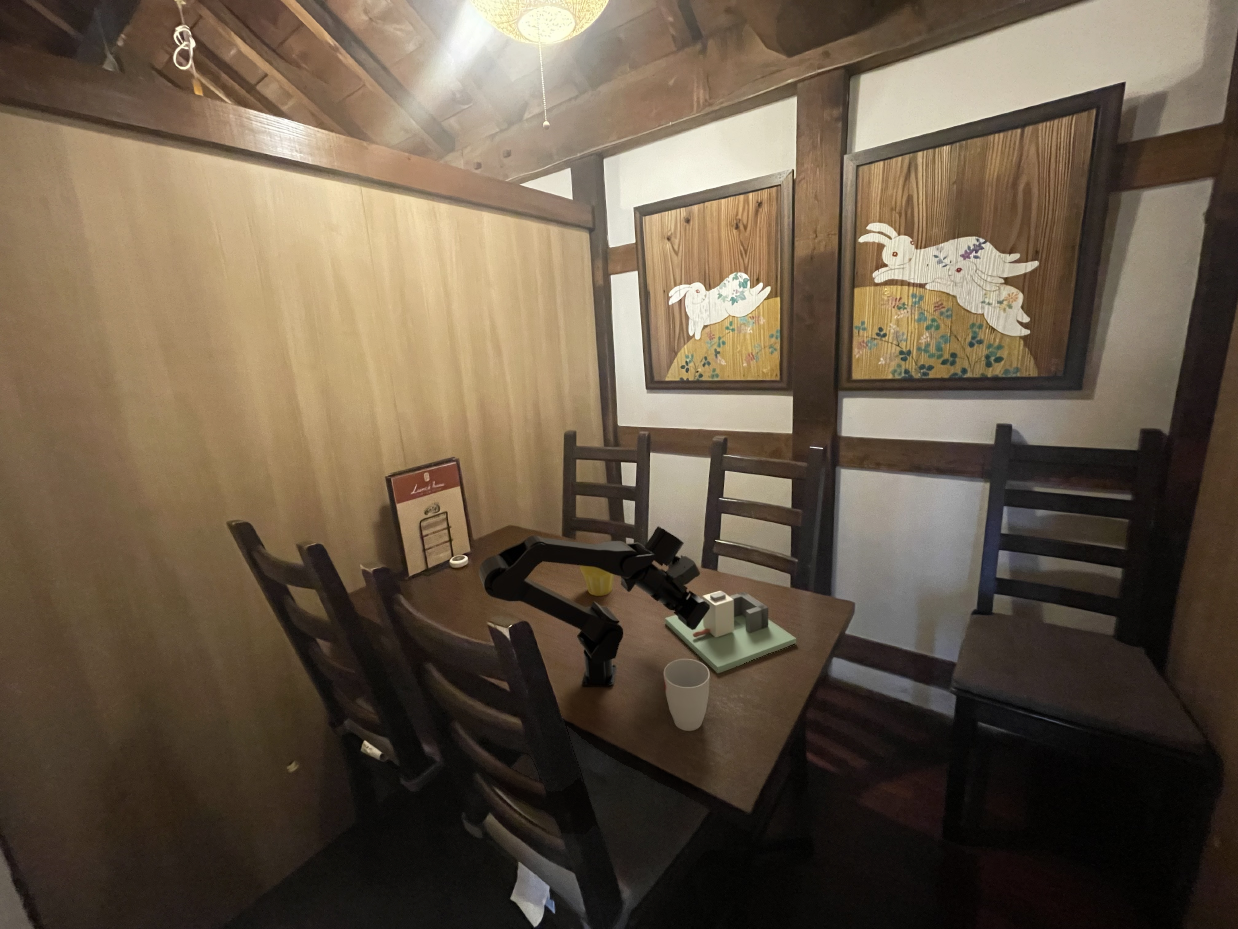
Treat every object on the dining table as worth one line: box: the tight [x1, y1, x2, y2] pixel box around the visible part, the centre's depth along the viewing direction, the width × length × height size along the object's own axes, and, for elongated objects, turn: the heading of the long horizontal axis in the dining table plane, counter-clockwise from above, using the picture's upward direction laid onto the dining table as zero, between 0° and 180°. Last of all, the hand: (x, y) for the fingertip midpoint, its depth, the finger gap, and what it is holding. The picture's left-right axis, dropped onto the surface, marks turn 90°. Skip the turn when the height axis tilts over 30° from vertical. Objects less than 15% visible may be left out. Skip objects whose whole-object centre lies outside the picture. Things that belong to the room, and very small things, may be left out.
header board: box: [664, 614, 797, 674], centre depth 117 cm, size 21×22×2 cm
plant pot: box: [579, 565, 615, 597], centre depth 141 cm, size 10×10×10 cm
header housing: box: [728, 591, 769, 633], centre depth 118 cm, size 5×9×5 cm, turn 24°
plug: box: [693, 590, 734, 637], centre depth 114 cm, size 9×5×9 cm, turn 114°
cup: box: [663, 658, 710, 732], centre depth 90 cm, size 8×8×10 cm
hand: (699, 614), depth 112 cm, fingers closed
